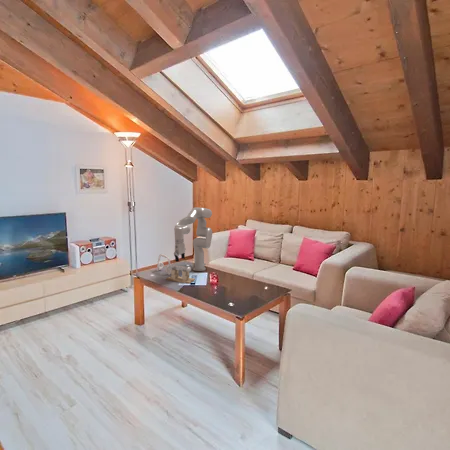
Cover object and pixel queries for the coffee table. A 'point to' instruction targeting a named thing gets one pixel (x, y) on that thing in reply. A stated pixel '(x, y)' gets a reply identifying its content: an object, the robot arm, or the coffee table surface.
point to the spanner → (180, 268)
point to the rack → (178, 278)
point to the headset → (160, 265)
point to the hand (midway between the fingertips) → (180, 259)
